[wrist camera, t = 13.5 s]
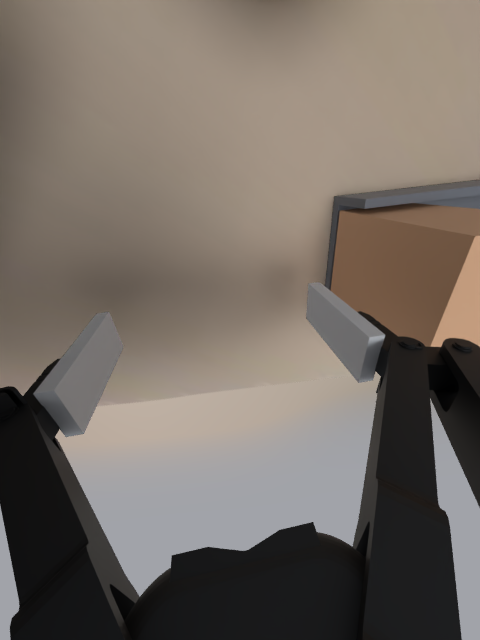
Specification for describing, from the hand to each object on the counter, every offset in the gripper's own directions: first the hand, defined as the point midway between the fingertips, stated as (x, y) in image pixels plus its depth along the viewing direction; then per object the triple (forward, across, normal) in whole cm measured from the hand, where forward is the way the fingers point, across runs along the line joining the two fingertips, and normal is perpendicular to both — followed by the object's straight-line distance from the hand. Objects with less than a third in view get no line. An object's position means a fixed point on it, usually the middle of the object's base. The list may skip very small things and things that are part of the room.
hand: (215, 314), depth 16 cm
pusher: (+6, +14, 0) cm, 15 cm away
